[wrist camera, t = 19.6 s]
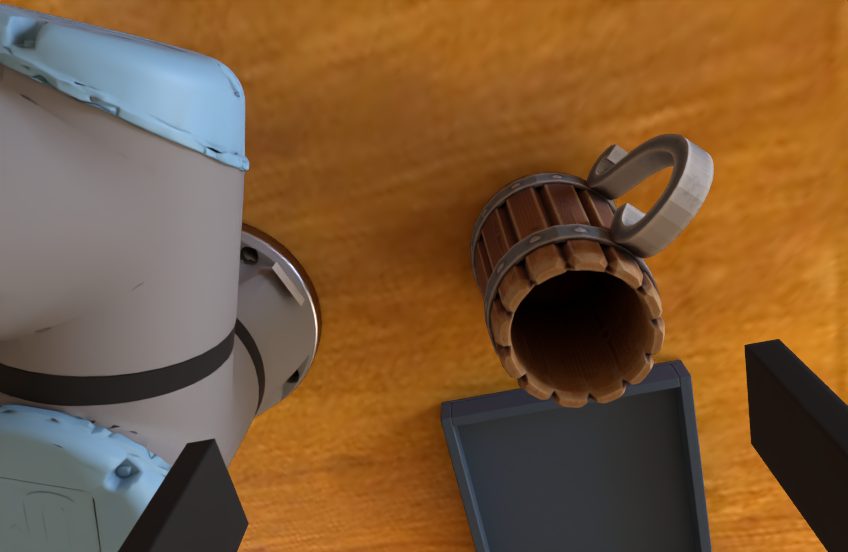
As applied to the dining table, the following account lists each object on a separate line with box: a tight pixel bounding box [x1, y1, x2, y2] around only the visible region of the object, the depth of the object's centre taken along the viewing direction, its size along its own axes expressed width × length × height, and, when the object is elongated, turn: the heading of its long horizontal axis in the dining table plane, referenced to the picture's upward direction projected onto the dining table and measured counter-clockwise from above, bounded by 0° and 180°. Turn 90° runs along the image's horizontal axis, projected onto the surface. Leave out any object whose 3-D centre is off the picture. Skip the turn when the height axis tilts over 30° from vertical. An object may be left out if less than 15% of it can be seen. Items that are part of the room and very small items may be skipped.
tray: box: [441, 360, 712, 552], centre depth 52 cm, size 18×22×2 cm
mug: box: [470, 134, 714, 408], centre depth 38 cm, size 16×11×15 cm
